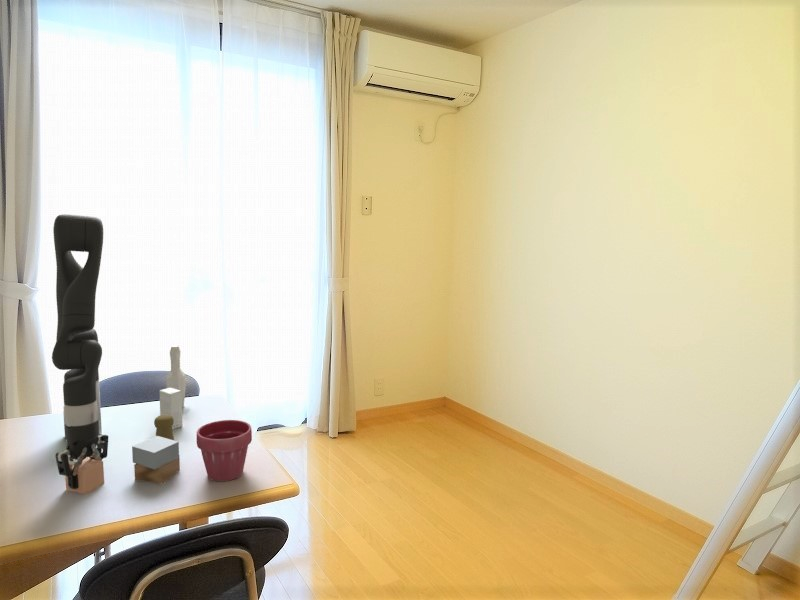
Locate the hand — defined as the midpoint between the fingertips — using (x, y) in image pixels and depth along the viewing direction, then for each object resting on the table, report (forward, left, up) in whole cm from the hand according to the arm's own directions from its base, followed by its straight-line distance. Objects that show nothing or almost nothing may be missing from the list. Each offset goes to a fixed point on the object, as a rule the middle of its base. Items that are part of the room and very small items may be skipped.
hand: (85, 482), depth 144 cm
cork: (+4, +24, -1) cm, 24 cm away
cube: (0, 0, -1) cm, 1 cm away
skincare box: (-8, +41, -1) cm, 42 cm away
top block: (+12, +12, +3) cm, 17 cm away
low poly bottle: (-19, +56, -1) cm, 59 cm away
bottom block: (+12, +12, -1) cm, 17 cm away
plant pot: (+28, +19, -1) cm, 34 cm away
